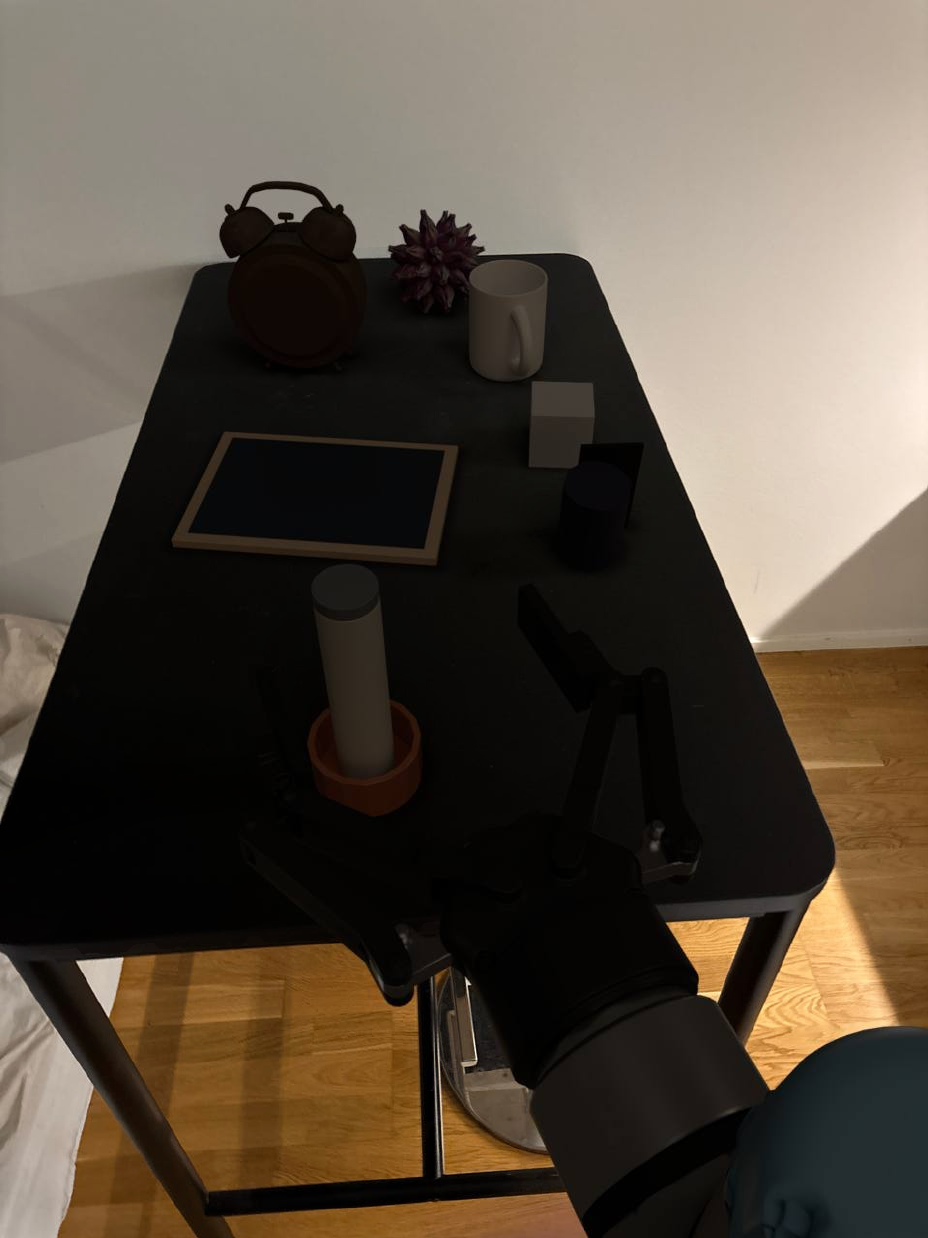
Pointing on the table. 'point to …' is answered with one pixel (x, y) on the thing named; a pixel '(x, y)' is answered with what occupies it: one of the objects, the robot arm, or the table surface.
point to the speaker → (597, 504)
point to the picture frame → (322, 498)
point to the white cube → (560, 423)
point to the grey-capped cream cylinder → (355, 668)
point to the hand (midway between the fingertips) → (400, 643)
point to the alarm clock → (294, 280)
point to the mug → (507, 319)
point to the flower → (435, 261)
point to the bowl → (377, 791)
